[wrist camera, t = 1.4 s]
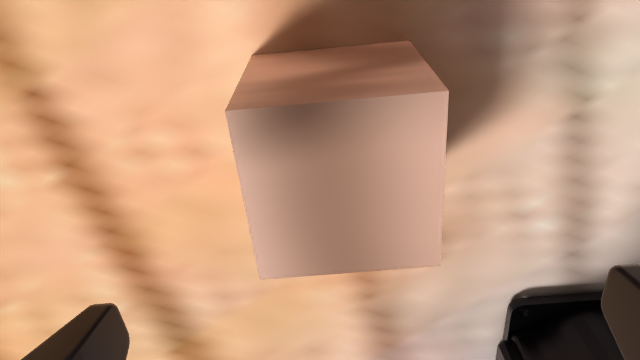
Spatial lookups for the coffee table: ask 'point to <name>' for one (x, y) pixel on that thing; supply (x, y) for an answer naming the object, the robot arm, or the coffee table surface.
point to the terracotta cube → (341, 159)
